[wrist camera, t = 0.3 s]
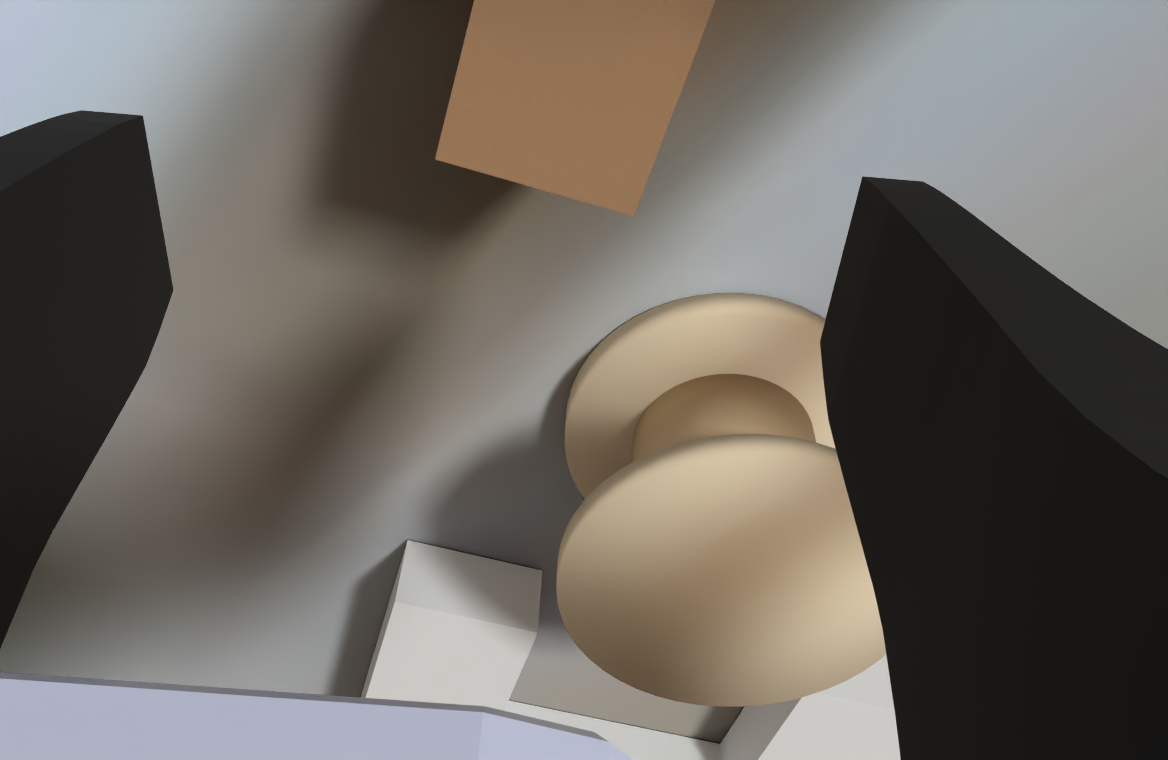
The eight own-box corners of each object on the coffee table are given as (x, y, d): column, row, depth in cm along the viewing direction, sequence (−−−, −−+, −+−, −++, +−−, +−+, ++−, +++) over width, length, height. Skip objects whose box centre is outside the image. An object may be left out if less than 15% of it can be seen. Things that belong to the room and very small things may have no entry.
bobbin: (933, 342, 24) (999, 510, 20) (799, 558, 28) (830, 733, 24) (621, 255, 22) (623, 414, 18) (530, 494, 27) (515, 666, 23)
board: (982, 670, 30) (1002, 733, 29) (853, 821, 35) (865, 883, 33) (407, 540, 28) (394, 601, 26) (352, 722, 32) (339, 784, 31)
